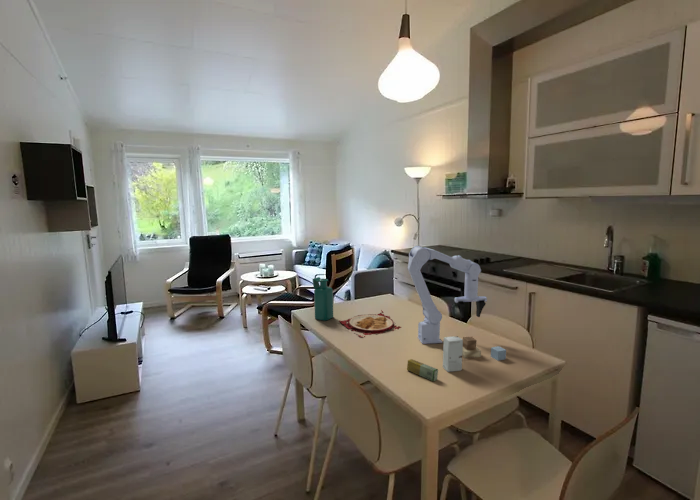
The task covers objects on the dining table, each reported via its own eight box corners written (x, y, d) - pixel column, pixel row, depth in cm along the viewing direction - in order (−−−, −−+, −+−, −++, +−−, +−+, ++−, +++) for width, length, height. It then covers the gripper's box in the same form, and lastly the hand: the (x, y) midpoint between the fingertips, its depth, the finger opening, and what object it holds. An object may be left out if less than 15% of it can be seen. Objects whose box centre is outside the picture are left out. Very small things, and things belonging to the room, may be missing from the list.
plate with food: (338, 323, 190) (338, 317, 190) (381, 315, 202) (381, 309, 201) (360, 340, 169) (360, 333, 168) (407, 329, 180) (406, 322, 180)
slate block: (497, 360, 143) (498, 351, 143) (490, 356, 147) (491, 347, 147) (505, 359, 145) (506, 349, 144) (498, 355, 149) (498, 346, 148)
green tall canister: (334, 317, 199) (334, 278, 196) (325, 321, 192) (324, 281, 189) (320, 314, 204) (319, 276, 201) (311, 318, 197) (310, 279, 194)
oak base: (464, 358, 146) (464, 351, 146) (457, 351, 153) (457, 345, 153) (480, 357, 147) (481, 350, 147) (472, 350, 154) (473, 344, 154)
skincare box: (447, 372, 134) (448, 341, 133) (442, 367, 139) (442, 337, 137) (462, 370, 136) (463, 339, 134) (456, 365, 140) (457, 335, 138)
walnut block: (466, 350, 148) (467, 340, 147) (462, 346, 152) (462, 337, 151) (476, 349, 148) (476, 340, 148) (471, 345, 152) (471, 336, 152)
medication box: (437, 380, 129) (438, 369, 129) (433, 382, 127) (434, 371, 127) (410, 368, 138) (411, 358, 137) (406, 370, 136) (407, 359, 135)
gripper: (459, 290, 158) (458, 320, 160) (490, 289, 160) (489, 319, 162) (453, 286, 165) (452, 315, 167) (483, 285, 167) (482, 314, 169)
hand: (470, 316), depth 165 cm, fingers open, 7 cm apart
